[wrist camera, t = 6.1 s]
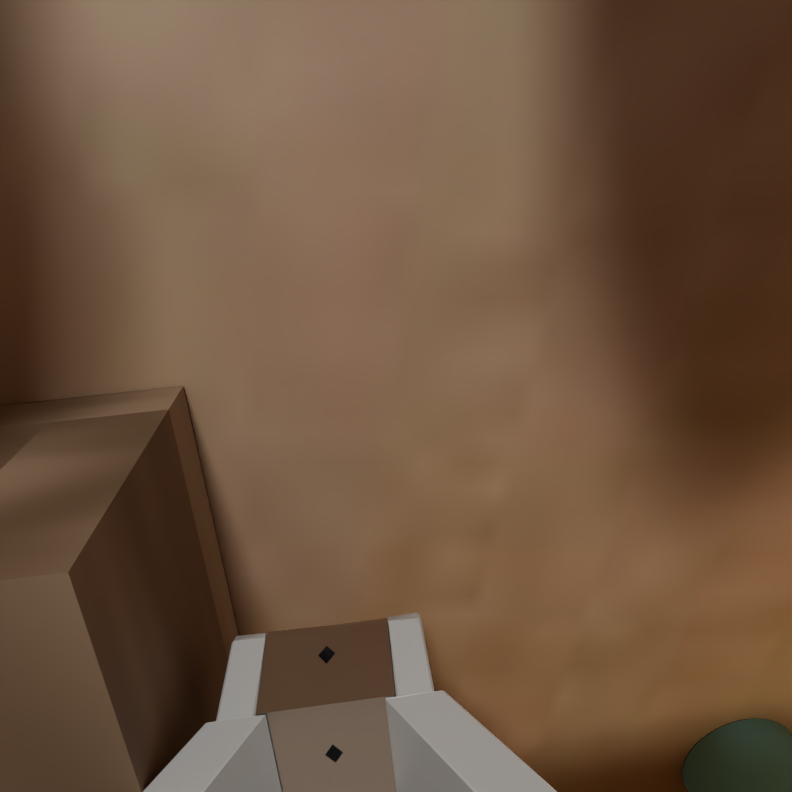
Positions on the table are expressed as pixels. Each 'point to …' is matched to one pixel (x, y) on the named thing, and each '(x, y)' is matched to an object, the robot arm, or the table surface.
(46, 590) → the block
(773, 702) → the table surface
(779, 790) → the dowel
